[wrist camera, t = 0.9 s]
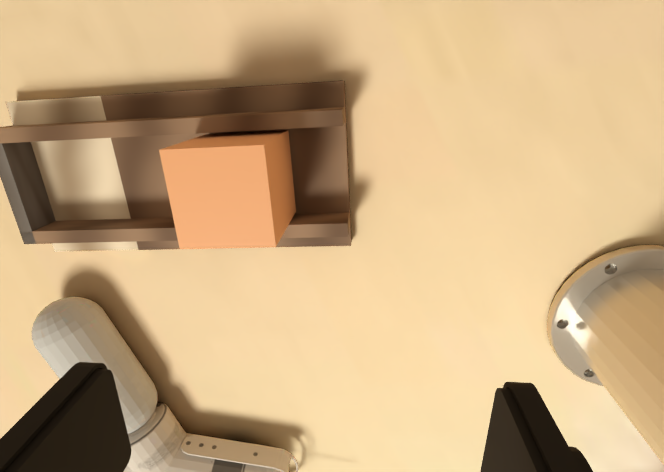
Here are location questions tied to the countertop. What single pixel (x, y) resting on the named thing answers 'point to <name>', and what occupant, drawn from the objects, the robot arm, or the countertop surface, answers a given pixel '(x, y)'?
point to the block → (230, 189)
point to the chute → (146, 167)
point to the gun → (141, 397)
